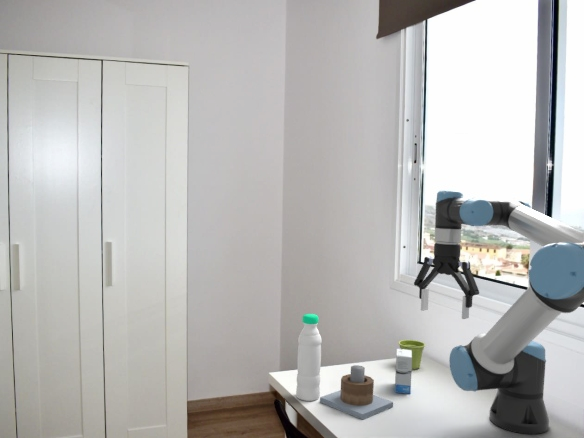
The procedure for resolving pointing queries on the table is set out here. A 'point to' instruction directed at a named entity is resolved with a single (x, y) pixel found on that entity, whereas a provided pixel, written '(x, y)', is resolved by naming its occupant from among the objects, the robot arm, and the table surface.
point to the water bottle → (309, 360)
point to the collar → (357, 391)
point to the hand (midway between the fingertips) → (444, 314)
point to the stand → (357, 411)
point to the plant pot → (413, 351)
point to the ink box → (403, 371)
